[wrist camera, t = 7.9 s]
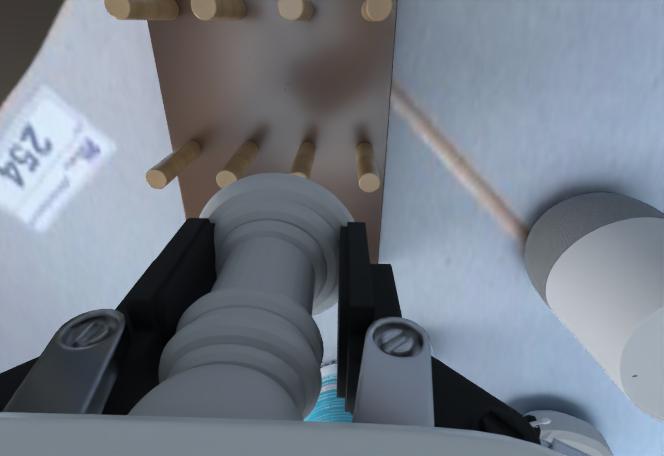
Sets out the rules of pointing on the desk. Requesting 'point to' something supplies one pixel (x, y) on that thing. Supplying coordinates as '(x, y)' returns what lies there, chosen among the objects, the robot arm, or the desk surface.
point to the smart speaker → (607, 286)
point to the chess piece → (256, 306)
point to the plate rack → (274, 95)
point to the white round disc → (568, 431)
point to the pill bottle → (329, 400)
